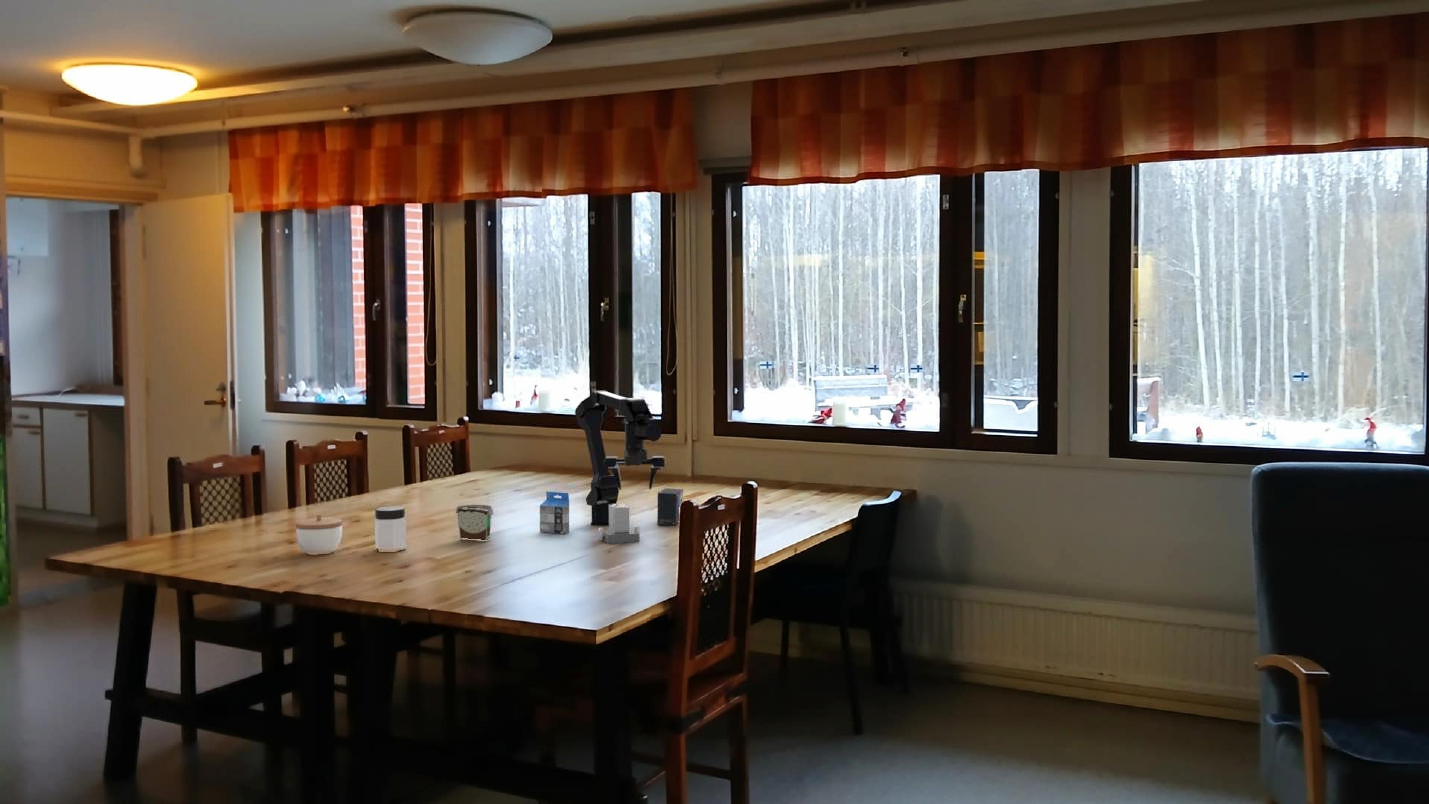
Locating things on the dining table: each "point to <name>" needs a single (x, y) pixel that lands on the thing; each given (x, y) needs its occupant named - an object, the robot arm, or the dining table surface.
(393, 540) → the jar
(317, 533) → the lidded bowl
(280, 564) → the dining table surface
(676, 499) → the small box
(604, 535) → the dock
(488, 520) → the food container
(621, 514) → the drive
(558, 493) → the label tape box
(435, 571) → the dining table surface
